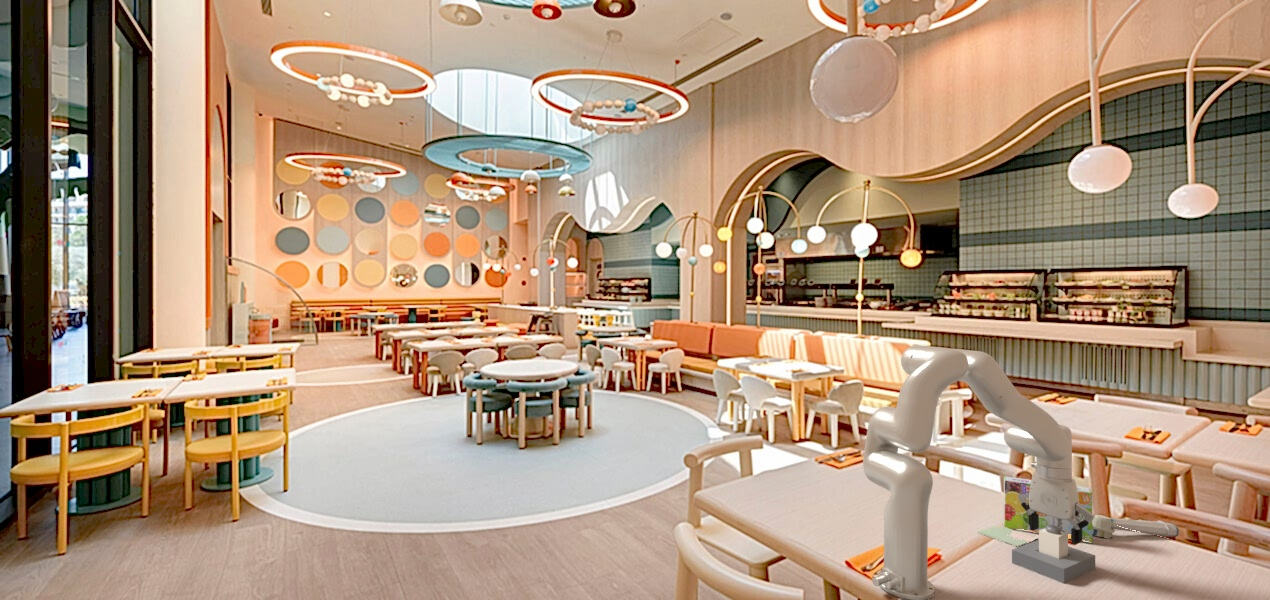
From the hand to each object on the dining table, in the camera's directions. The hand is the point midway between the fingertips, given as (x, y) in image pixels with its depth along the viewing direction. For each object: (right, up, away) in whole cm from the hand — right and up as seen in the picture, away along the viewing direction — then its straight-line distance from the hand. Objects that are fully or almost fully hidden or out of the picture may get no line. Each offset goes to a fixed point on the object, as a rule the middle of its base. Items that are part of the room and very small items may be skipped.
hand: (1054, 536), depth 146 cm
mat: (0, -8, +18) cm, 20 cm away
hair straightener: (+38, -9, +19) cm, 44 cm away
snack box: (+13, -8, +21) cm, 26 cm away
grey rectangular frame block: (0, -8, 0) cm, 8 cm away
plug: (0, -8, 0) cm, 8 cm away
